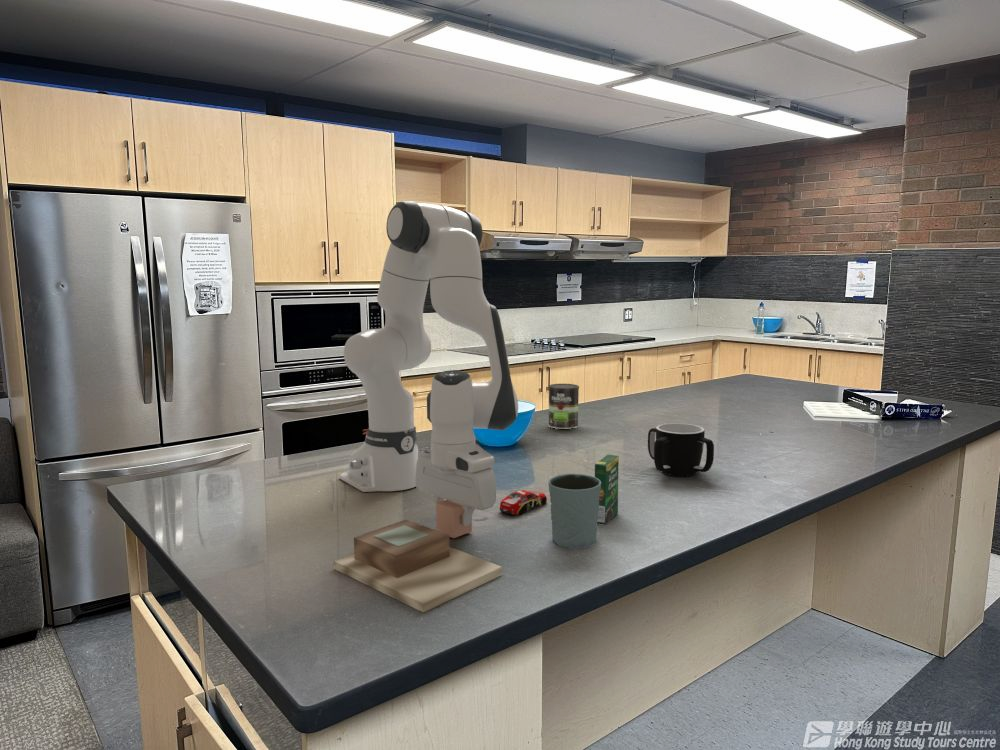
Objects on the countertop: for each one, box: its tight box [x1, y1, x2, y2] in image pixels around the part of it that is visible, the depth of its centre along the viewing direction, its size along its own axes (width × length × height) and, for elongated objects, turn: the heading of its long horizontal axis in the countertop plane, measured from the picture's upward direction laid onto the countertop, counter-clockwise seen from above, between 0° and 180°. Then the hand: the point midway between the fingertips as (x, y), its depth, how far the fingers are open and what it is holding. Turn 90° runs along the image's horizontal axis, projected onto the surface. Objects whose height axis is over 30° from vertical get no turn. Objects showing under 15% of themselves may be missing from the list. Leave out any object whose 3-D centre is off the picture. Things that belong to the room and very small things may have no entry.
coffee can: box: [548, 383, 580, 430], centre depth 233 cm, size 10×10×14 cm
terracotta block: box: [435, 499, 473, 539], centre depth 138 cm, size 5×5×6 cm
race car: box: [499, 489, 548, 516], centre depth 154 cm, size 13×5×4 cm, turn 139°
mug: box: [647, 422, 715, 478], centre depth 179 cm, size 16×16×12 cm
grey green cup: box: [548, 473, 601, 549], centre depth 134 cm, size 10×10×12 cm
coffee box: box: [594, 454, 620, 526], centre depth 145 cm, size 8×3×13 cm, turn 151°
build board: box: [333, 519, 503, 614], centre depth 121 cm, size 24×18×6 cm
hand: (454, 520), depth 138 cm, fingers closed on terracotta block, 5 cm apart
